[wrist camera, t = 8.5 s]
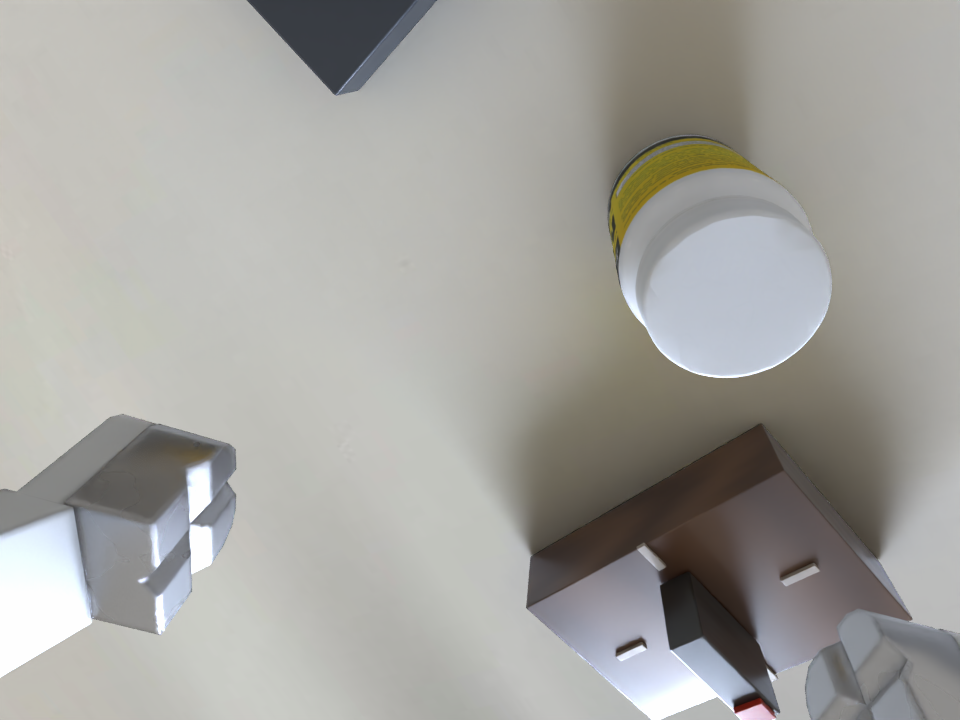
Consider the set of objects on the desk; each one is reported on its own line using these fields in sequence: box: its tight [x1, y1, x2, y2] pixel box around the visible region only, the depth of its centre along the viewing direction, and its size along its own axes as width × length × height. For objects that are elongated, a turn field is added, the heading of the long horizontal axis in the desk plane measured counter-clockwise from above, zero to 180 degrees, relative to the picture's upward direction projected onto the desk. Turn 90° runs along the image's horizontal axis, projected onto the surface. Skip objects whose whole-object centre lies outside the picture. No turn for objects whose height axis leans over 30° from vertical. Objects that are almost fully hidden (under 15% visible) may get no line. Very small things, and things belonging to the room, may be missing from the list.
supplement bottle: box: [608, 135, 832, 378], centre depth 17 cm, size 5×5×8 cm
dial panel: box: [526, 424, 912, 720], centre depth 26 cm, size 12×9×3 cm
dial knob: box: [660, 572, 780, 720], centre depth 24 cm, size 5×1×3 cm, turn 44°
